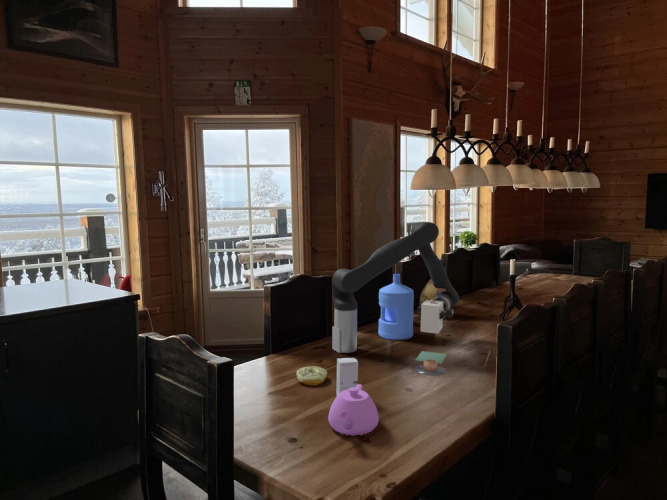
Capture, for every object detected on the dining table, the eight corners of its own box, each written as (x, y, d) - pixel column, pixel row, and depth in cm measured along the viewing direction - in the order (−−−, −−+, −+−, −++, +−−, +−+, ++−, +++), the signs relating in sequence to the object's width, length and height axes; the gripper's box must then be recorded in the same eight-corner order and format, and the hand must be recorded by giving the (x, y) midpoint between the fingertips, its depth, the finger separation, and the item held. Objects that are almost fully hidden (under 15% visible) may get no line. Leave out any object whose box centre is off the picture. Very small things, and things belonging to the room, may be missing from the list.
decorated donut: (296, 387, 162) (296, 376, 161) (296, 375, 172) (296, 364, 172) (327, 386, 162) (327, 375, 162) (326, 374, 173) (326, 364, 173)
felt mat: (441, 364, 183) (441, 363, 183) (414, 361, 187) (414, 360, 187) (446, 355, 194) (446, 354, 194) (422, 352, 198) (422, 351, 198)
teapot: (317, 441, 126) (317, 401, 125) (337, 409, 145) (337, 374, 144) (370, 449, 122) (371, 408, 121) (383, 414, 141) (384, 379, 140)
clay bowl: (429, 373, 173) (429, 364, 173) (420, 368, 177) (421, 360, 177) (439, 370, 175) (440, 362, 175) (431, 366, 180) (431, 358, 179)
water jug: (403, 329, 231) (404, 270, 228) (419, 338, 216) (420, 276, 213) (372, 332, 226) (373, 272, 223) (387, 342, 211) (388, 278, 208)
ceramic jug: (437, 320, 247) (439, 262, 244) (413, 315, 258) (414, 259, 255) (457, 315, 258) (458, 259, 255) (433, 310, 270) (434, 256, 266)
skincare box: (339, 401, 150) (339, 363, 149) (335, 395, 155) (336, 358, 153) (358, 399, 152) (358, 361, 150) (354, 393, 156) (354, 356, 155)
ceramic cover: (437, 333, 183) (438, 303, 182) (420, 331, 186) (421, 301, 185) (442, 327, 192) (443, 298, 190) (425, 325, 194) (426, 296, 193)
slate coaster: (427, 378, 169) (427, 377, 169) (408, 368, 179) (408, 367, 179) (452, 373, 174) (452, 372, 174) (432, 363, 184) (432, 362, 184)
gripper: (422, 295, 204) (412, 304, 188) (457, 299, 198) (450, 307, 183) (421, 313, 204) (412, 323, 189) (456, 317, 199) (449, 327, 184)
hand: (431, 315), depth 186 cm, fingers closed on ceramic cover, 6 cm apart
